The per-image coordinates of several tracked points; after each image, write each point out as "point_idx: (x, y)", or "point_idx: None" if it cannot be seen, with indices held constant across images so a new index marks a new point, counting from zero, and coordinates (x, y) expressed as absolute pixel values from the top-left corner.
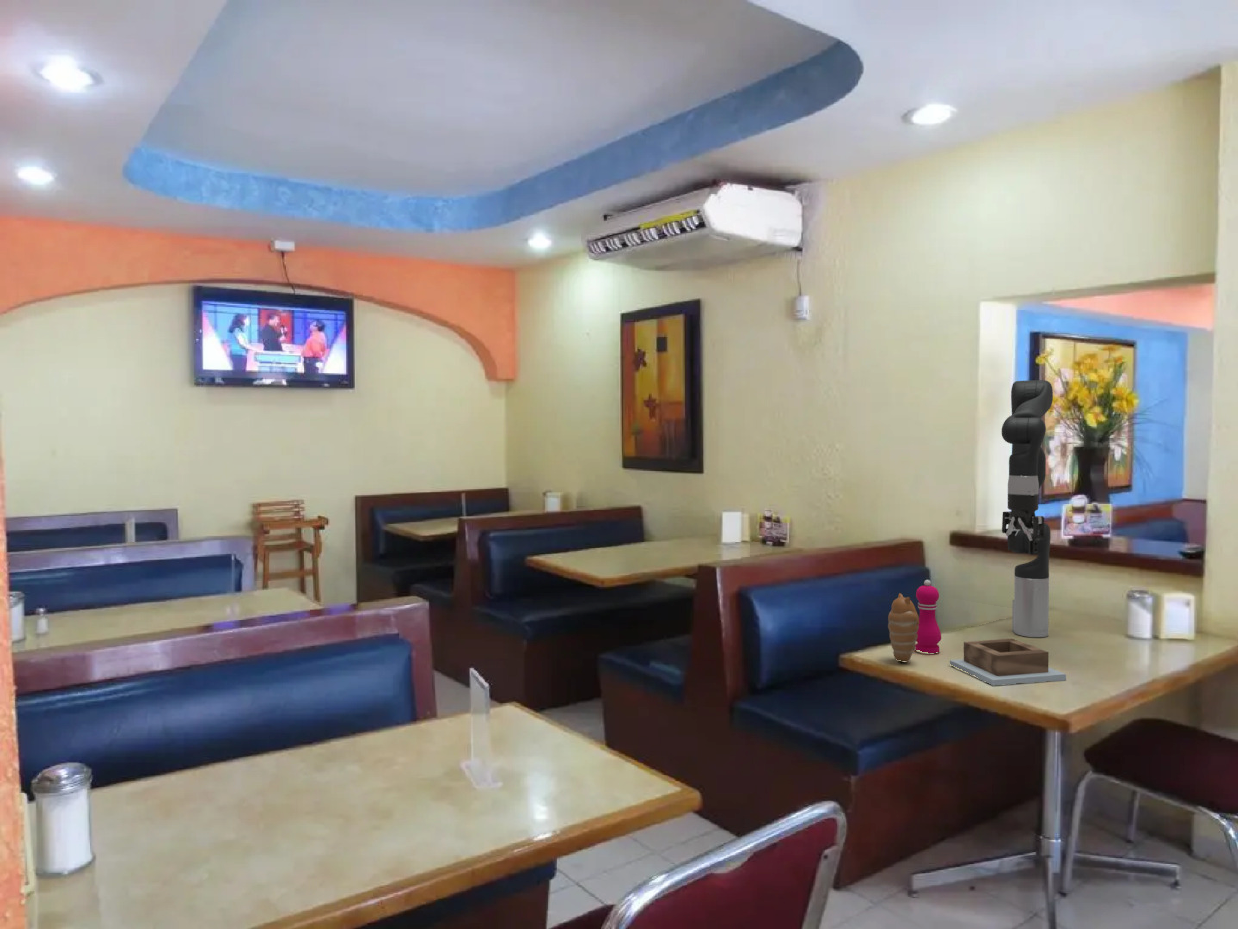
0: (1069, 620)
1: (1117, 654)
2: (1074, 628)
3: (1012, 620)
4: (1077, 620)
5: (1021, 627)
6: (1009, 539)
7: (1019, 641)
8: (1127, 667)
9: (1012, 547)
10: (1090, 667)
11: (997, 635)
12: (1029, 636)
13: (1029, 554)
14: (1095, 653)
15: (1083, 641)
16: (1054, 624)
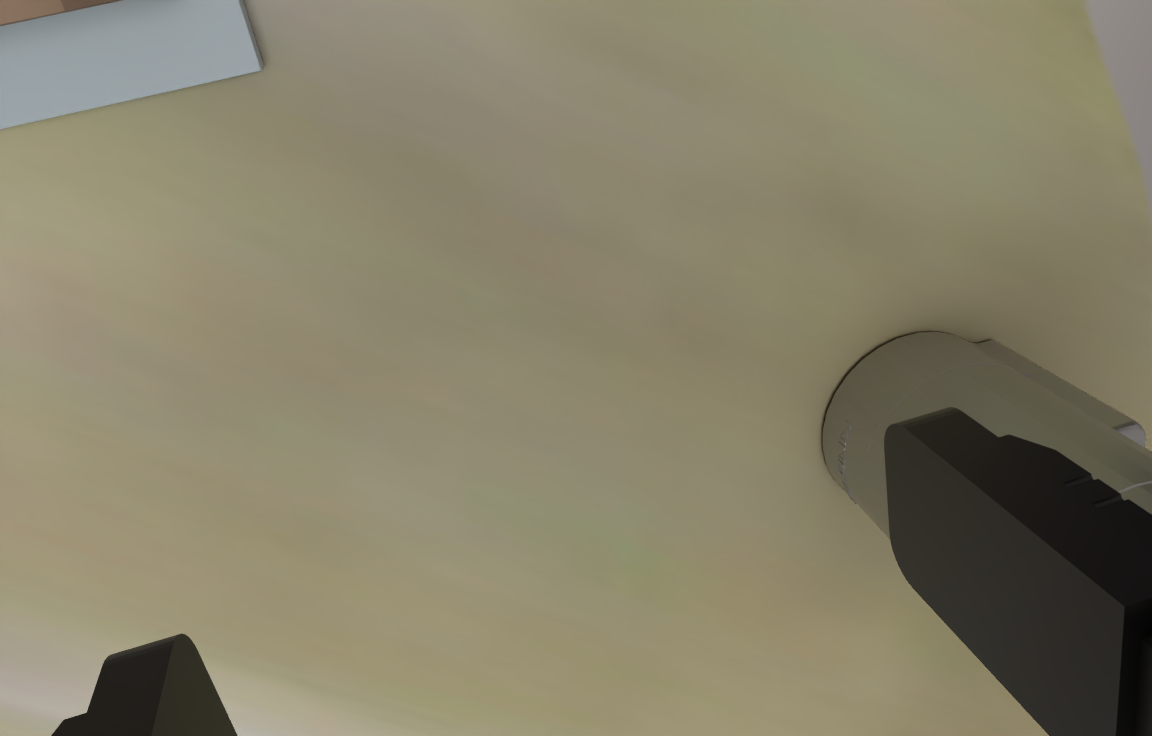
0: None
1: (443, 695)
2: (970, 669)
3: (1035, 365)
4: None
5: (905, 369)
6: (1065, 558)
7: (39, 12)
8: None
9: (924, 513)
10: (131, 470)
11: (924, 209)
12: (842, 385)
13: (178, 639)
14: (465, 602)
15: (719, 627)
16: None
